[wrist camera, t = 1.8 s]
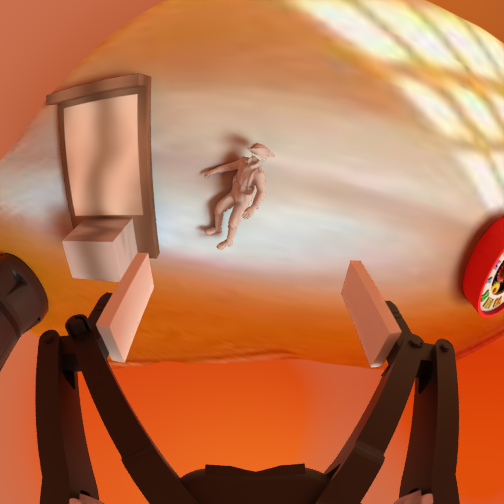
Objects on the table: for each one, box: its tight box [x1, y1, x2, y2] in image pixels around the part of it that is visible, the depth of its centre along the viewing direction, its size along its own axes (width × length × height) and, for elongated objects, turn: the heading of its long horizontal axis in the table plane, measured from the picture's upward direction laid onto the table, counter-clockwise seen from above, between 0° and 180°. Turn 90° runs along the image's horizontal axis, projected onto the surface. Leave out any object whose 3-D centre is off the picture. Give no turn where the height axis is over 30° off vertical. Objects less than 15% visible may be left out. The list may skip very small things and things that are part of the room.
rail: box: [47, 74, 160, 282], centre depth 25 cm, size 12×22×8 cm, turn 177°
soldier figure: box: [205, 143, 275, 250], centre depth 29 cm, size 8×5×12 cm
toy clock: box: [463, 217, 504, 318], centre depth 35 cm, size 20×6×20 cm
